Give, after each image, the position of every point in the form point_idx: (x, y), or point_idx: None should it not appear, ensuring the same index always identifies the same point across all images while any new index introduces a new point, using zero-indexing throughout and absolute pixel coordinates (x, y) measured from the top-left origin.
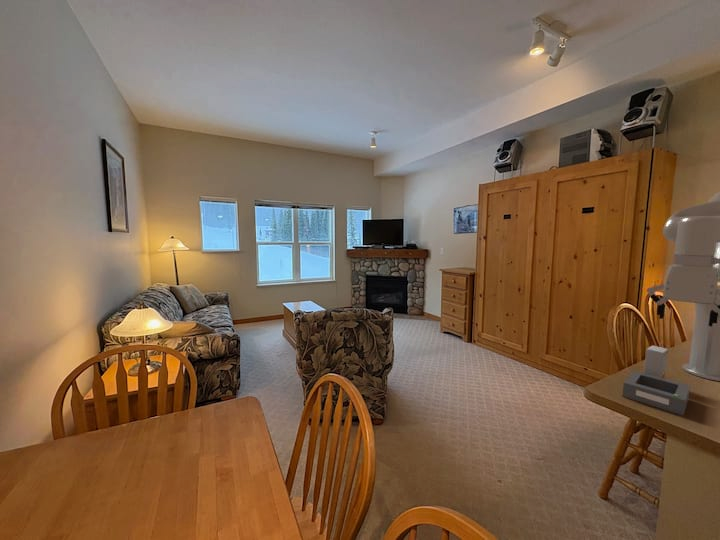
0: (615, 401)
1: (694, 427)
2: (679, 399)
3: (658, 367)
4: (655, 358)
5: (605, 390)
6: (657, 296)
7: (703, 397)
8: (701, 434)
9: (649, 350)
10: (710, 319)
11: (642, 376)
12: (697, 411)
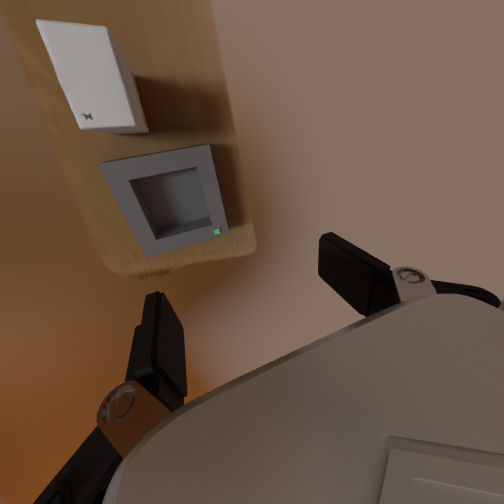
0: (157, 268)
1: (240, 242)
2: (222, 235)
3: (137, 130)
4: (121, 129)
5: (120, 248)
6: (88, 500)
7: (214, 96)
8: (249, 252)
9: (92, 128)
10: (339, 293)
11: (132, 178)
12: (228, 187)
